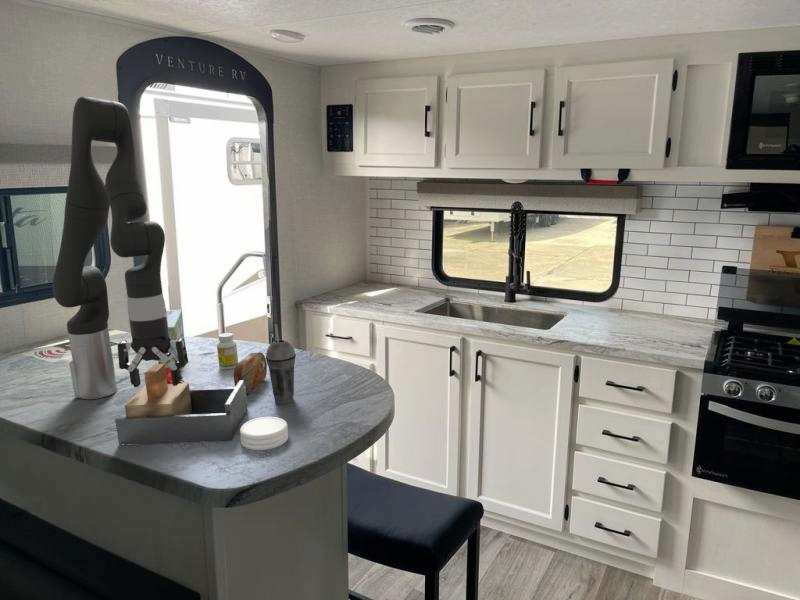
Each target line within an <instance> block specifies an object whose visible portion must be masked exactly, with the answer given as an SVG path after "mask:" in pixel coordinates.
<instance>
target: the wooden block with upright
mask: <svg viewBox="0 0 800 600" xmlns="http://www.w3.org/2000/svg"><path fill="white" fill-rule="evenodd" d="M144 381H145V384H144V385H143V386H142V388H140V390H139V391H138V392H136V394H135V395H134V396H133V397H131V399H129V400H128V402H127V403H126V404H125V405H124V410H125V417H140V416H166V415H190V413H191V412H192V407H191V398H190V389H191V388H190V383H189V382H187V383H185V382H182V383H180V384H178V385H177V386H173V384H167V377H166V369H165V364H158V363H154V364H153V365H152V366H150V367H149V368H148V370H146V371H145V372H144Z"/></svg>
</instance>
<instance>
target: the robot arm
mask: <svg viewBox="0 0 800 600" xmlns="http://www.w3.org/2000/svg"><path fill="white" fill-rule="evenodd" d="M71 130H72V131H71V154H70V155H71V156H70V157H71V159H70V169H69V176H68V177H69V178H68V183H67V191H66V197H65V205H64V220H63V227H62V234H61V242H60V248H59V251H58V256H57V262H56V265H55V269H54V274H53V278H52V291H53V295H54V296H53V297H54V299H55V301H56V302H57V303H58V304H59V305H60V306H61V307H63V308H67V309H68V308H76V307H79V309H78V311H77V312H76V313H75V314H74V315H73V316H72V317H71V318H70V319H68V320H67V323H66V330H67V334H68V341H69V345H70V346H69V347H70V353H71V358H72V360H71V361H70V362H69V370H70V376H71V382H72V388H73V395H74V398H76V399H77V398H79V399H83V400H94V399H96V400H97V399H102V398H105V397H108V396H110V395H113V394H115V393H116V392H117V391H118V386H117V385H118V384H117V380H116V379H117V378H116V372H115V363H114V358H113V351H112V344H111V337H110V331H109V324H108V321H109V316H110V307H109V298H108V297H109V295H108V287H107V282H106V279H105V276H104V274H103V272H102V271H101V270H100V269H99V268H98V267H96V266H93V265H86V266H84V265H85V262H86V259H87V257H88V255H89V253H90V252H91V249H92V248H93V247H94V245H95V244H96V243H97V241H98V240H99V239H100V237H101V235H102V234H103V233H104V231H105V228H106V227H107V225H108V220H109V214H110V213H109V212H110V210H111V230H110V239H109V241H110V247H111V249H112V251H113V253H115V254H116V255H117V256H118V257H120V258H126V259H127V258H133V257H140V256H141V257H142V256H143V257H144V256H147V257H146V259H145V260H144V262H143V263H141V264H139V265H136V266H134V267H130V268H129V269H128V268H127V270H126V271H125V272H124V281H125V288H126V290H125V291H126V296H127V313H128V314H127V315H128V320H129V326H130V334H131V339H132V341H127V340H126V339H123V340H121V341H120V342H119V343H118V344H117V356H118V367H119V369H120V370H127V372H129V379H130V384H131V386H133V388H139V387H140V385H141V384H142V383H141V377H140V376H141V375H140V369H139V368H138V366H139V365H140V363H142V361H144V362H149V361H150V362H151V361H156V362H158V361H159V360H160V359H161V360H162V361H163V362H164V363H166V364H168V365H169V366H170V367H171V368H172V370H171V375H172V383H173V386H177V385H178V384H179V382H180V381H181V376H182V374H181V373H182V372H181V373H180V368H181V367H182V368H184V367H186V365H187V364H188V363H189V357H188V351H187V346H186V340H185V338H184V339H183V338H180V339H179V340H171V339H170V338H169V332H168V323H167V315H166V312H167V307H166V302H165V298H164V293H163V286H162V278H161V272H162V271H161V270H162V269H161V268H162V260H163V255H164V254H163V253H164V250H165V243H166V236H165V235H166V233H165V231H164V229H163V227H162V226H161V225H160V223H158V222H157V221H153V220H151V221H141V222H133V221H136V220H138V219H141V218H143V217H144V215H146V214H147V211H148V210H147V209H148V208H147V203H146V200H145V196H144V192H143V188H142V186H141V183H140V179H139V173H138V168H137V161H136V150H135V149H136V148H135V141H134V132H133V125H132V121H131V115H130V113H129V110H128V108H127V106H125V104H123V103H121V102H119V101H115V100H108V99H103V98H96V97H91V96H80V97H78V98H77V99H76V102H75V103H74V106H73V112H72V125H71ZM93 141H94V142H103V143H108V144H109V143H111V144H115V146H116V155H115V158H114V160H113V161H112V164H111V165H110V167H109V169H108V171H107V174H106V177H105V182H104V181H103V179H102V177H101V175H100V173H99V172H98V170H97V168H96V167H97V166H96V165H95V163H94V159H93V156H92V142H93ZM171 346H173V347H174V349H175V350H177V354H178V360H179V361H178V360H177V359H176V358H175V357H174V354H173V353H172V352H171V351H170V350H169V349H170V347H171ZM131 349H132V351H134V352H135V353H136V354H135V356H134V357H133V359H132V361H130V358H129V357H130V356H129V351H130V350H131ZM181 382H182V381H181Z"/></svg>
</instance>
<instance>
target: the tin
mask: <svg viewBox="0 0 800 600" xmlns="http://www.w3.org/2000/svg"><path fill="white" fill-rule="evenodd" d="M267 367H268V364H267V360H266V355H264V353H263V352H261V351H259V352H251V353H249V354H248V355H247V356H245V357H244V358H243V359H242V360H240V361H238V364H237V365H236V367H235V368H233V369H234V371H233V383H234V387H236V385H237V384H238V382H239V381H240V380H244V387H246V395H247V394H249V395H251V394H252V393H253V392H254V391H255V390H256V389H257V388H258V387H259V386H260V385H262V384H263V383H264V381H265V380H266V378H267V369H268V368H267Z"/></svg>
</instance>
